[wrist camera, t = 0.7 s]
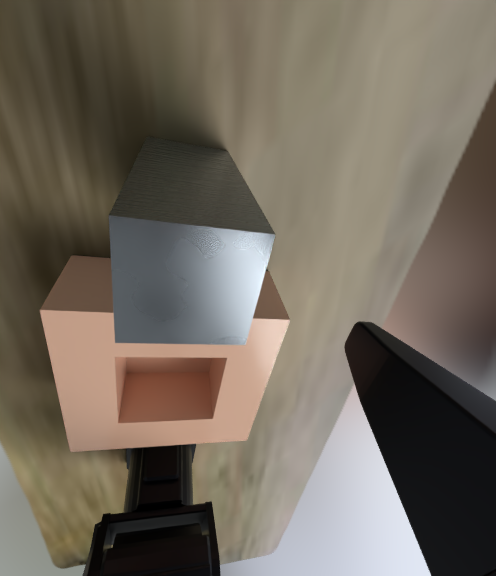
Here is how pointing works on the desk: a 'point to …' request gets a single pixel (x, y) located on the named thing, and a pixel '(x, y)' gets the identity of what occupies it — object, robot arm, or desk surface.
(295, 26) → the desk surface
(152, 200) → the grey rectangular block
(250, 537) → the desk surface
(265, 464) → the desk surface
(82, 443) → the well
